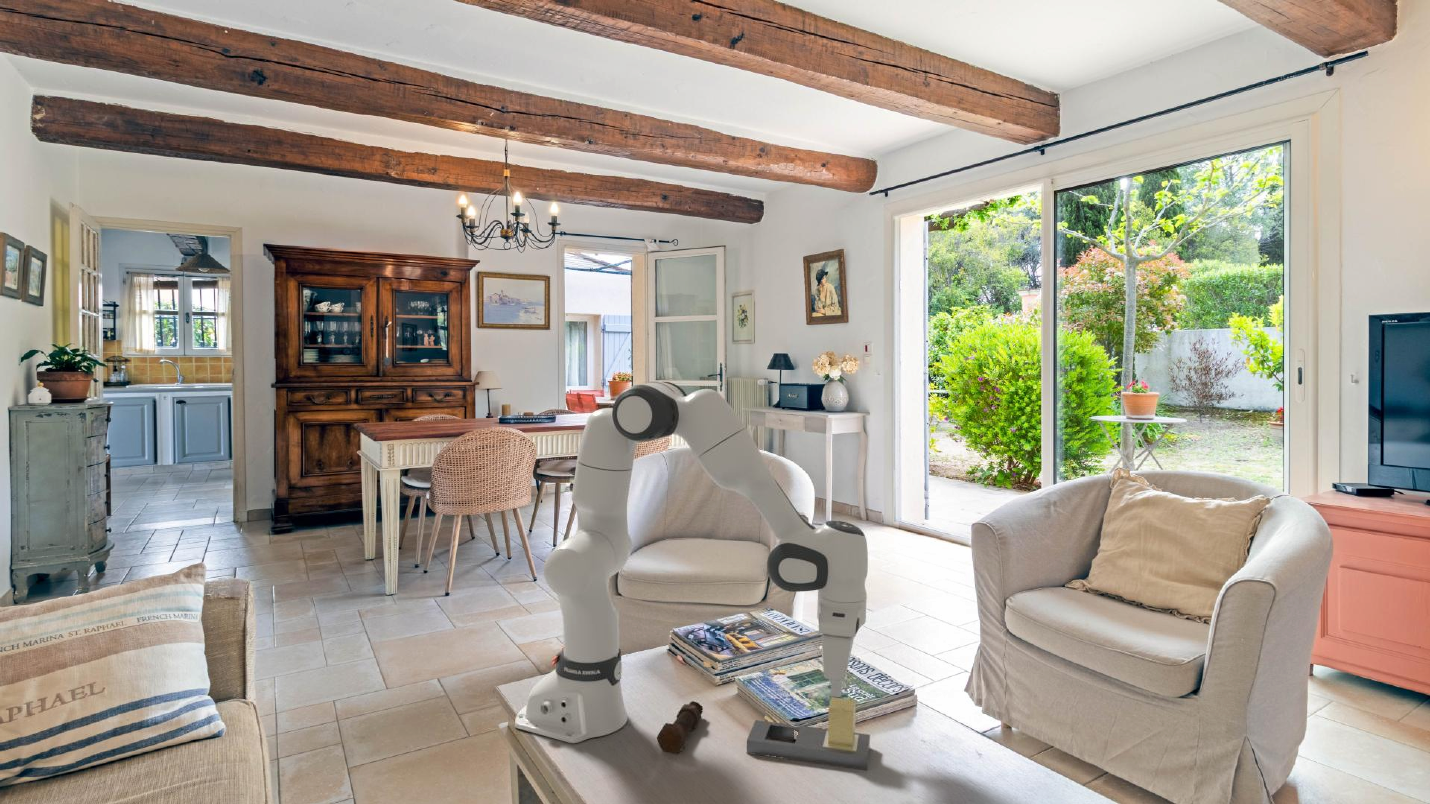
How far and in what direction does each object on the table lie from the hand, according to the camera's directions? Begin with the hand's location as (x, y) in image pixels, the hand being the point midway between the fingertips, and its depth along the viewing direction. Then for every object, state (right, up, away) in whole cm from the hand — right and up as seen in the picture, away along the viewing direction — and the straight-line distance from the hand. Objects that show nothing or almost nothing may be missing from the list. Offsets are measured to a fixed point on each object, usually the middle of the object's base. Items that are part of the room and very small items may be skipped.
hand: (839, 684), depth 137 cm
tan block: (+1, -11, 0) cm, 11 cm away
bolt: (-29, -13, +8) cm, 33 cm away
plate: (-5, -13, +2) cm, 14 cm away
